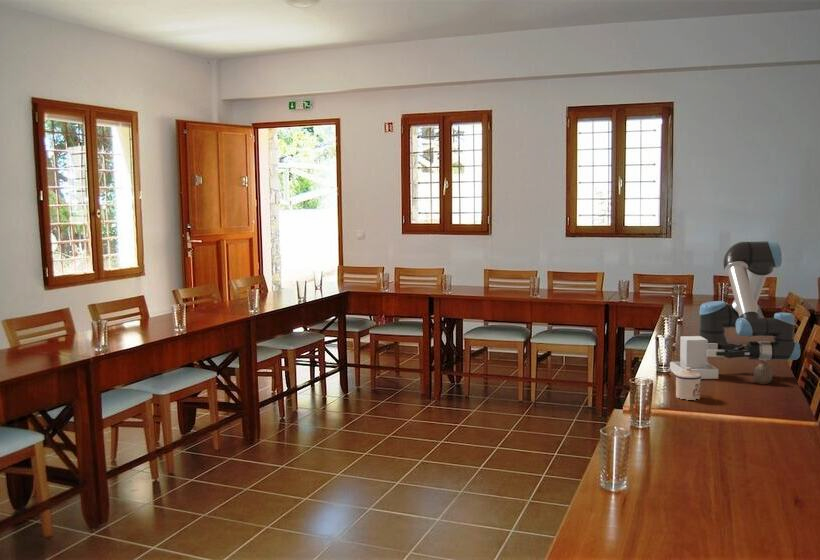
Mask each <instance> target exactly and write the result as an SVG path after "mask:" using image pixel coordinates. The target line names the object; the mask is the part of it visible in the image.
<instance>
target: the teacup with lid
mask: <svg viewBox="0 0 820 560" xmlns="http://www.w3.org/2000/svg"><path fill="white" fill-rule="evenodd" d="M701 380H702V379H701V375H700V374H699V373H697V372H695V371H693V370H691V368H690V367H686V370H683V371H681V372H677V373H676V375H675V398H676V399H678V398H680V399H679V400H681V399H686V400H685V401H688V400H694V401H697V400H696V399H698V400H700V399H701Z"/></svg>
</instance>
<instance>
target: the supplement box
mask: <svg viewBox="0 0 820 560" xmlns="http://www.w3.org/2000/svg"><path fill="white" fill-rule="evenodd" d="M679 338H680V342H679V343H680V344H679V345H680V346H679V347H680V353H679V360H680V361H679V362H680V367H681V368H682V369H686V367H690V368H691V369H707V363H708V356H707V350H708V340H707V339H705V338H703V337H701V336H698V335H691V336H690V335H689V336H688V335H687V336H686V335H685V336H684V335H683V336H680V337H679Z"/></svg>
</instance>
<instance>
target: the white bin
mask: <svg viewBox="0 0 820 560" xmlns="http://www.w3.org/2000/svg"><path fill="white" fill-rule="evenodd" d="M670 369H671V371H672V372H673V373H674V374H673V373H672V372H671V371H670V372H671V373H672V374H673V375H675V376H676V373H677V372H681V371H683V370H686V369H682V368H681V367H680V361H669V370H670ZM691 370H693V371H695V372H697V373H699V374H700V375H701V380H706V379H707V380H708V379H709V380H712V379H715V380H717V379H718V380H719V368H717V367H716V366H714V365H713V364H711V363H708V362H707V369H691Z"/></svg>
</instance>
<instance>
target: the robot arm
mask: <svg viewBox="0 0 820 560" xmlns="http://www.w3.org/2000/svg"><path fill="white" fill-rule="evenodd" d="M782 261H783V256H782V248H781V246H780V244H779V243H778V242H777V241H770V240H767V241H766V240H765V241H764V240H763V241H762V240H761V241H740V242H737V243H734V244H733V245H731V247H729V248H728V249H727V251H726V253H725V254H724V257H723V269H724V273H725V274H727V275H728V278H729V282H730V286H731V290H732V294H733V298H734V300H733V301H732V303H728V304H727V303H726V302H725V301H723V300H718V301H717V300H714V301H713V300H712V301H706V302H703V303H701V304H700V306H699V312H698V314H699V327H698V328H699V330H698V331H699V334H698V335H697V336H701V337H703V338H705V339H707V340H708V350H707V358H709V357H711V358H712V357H715V358H716V357H717V358H718V357H719V358H721V357H723V358H724V357H725V358H727V359H733V358H734V359H735V358H747V359H748V360H763V361H766V362H768V361H767V360H769V361H771V360H772V361H775V360H776V361H777V360H778V361H792V360H793V361H796V360H798V359H799V358H800V356H801V344H800V343H799V342H798V341H795V326H796V325H795V315H794V314H793V313H790V312H775V313H774V315H773V317H761V316H762V311H761V307H760V305H759V304H758V301H759V299H760V296H761V293H762V290H763V289H764V286H765V285H764V284H765V282H766V280H767V277H768V275H771V273H772V272H773V271H774V269H775V268H776V269H777V268H780V267H781V266H782ZM726 329H735V332H736V334H737V335H738V336H740V337H747V338H748V337H773V341H769V340H768V341H767V340H766V341H761V340H760V341H756V340H755V341H754V340H753V341H747V344H746V345H744V344H742V343H730V342H729V343H728V340H727V336H726Z"/></svg>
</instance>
